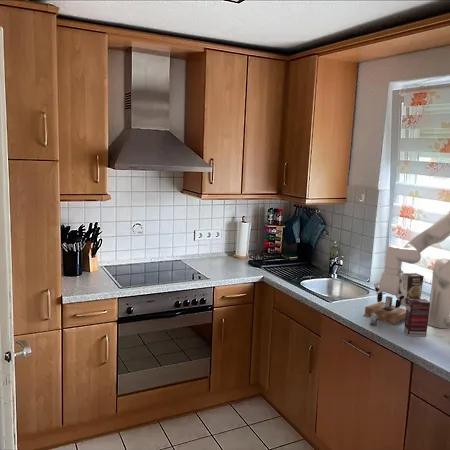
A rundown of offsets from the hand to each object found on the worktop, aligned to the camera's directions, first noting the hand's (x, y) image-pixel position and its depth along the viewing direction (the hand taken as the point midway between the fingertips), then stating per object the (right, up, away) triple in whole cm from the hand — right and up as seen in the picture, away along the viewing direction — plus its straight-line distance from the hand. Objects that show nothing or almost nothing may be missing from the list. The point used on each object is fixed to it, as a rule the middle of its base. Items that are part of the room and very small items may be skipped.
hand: (388, 304), depth 228 cm
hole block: (0, -6, +1) cm, 6 cm away
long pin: (0, -6, +1) cm, 6 cm away
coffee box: (+19, -4, +23) cm, 30 cm away
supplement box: (+5, -10, -19) cm, 22 cm away
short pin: (-10, -8, -10) cm, 16 cm away
